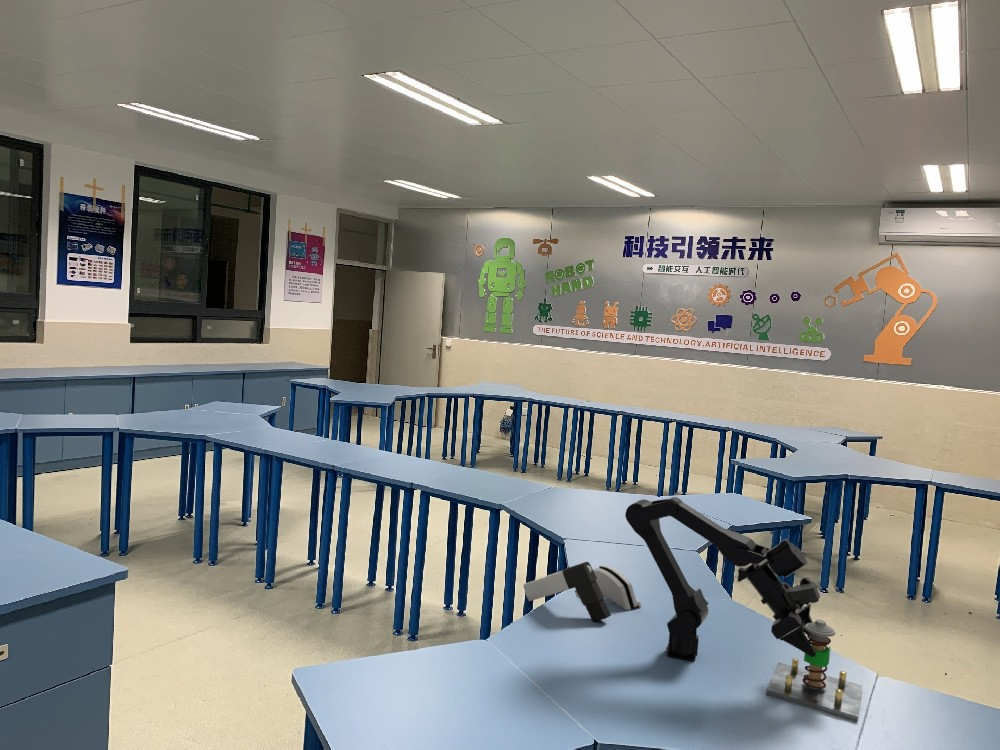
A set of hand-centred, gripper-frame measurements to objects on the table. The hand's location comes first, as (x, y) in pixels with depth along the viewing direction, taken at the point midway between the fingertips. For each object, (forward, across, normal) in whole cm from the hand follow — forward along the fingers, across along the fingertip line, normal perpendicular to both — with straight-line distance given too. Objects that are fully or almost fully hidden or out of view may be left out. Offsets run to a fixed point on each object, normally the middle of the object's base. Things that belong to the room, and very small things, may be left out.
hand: (816, 648), depth 161 cm
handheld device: (-37, +6, +52) cm, 65 cm away
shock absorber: (+7, 0, +6) cm, 9 cm away
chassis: (+8, 0, +7) cm, 10 cm away
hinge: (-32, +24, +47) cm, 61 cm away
